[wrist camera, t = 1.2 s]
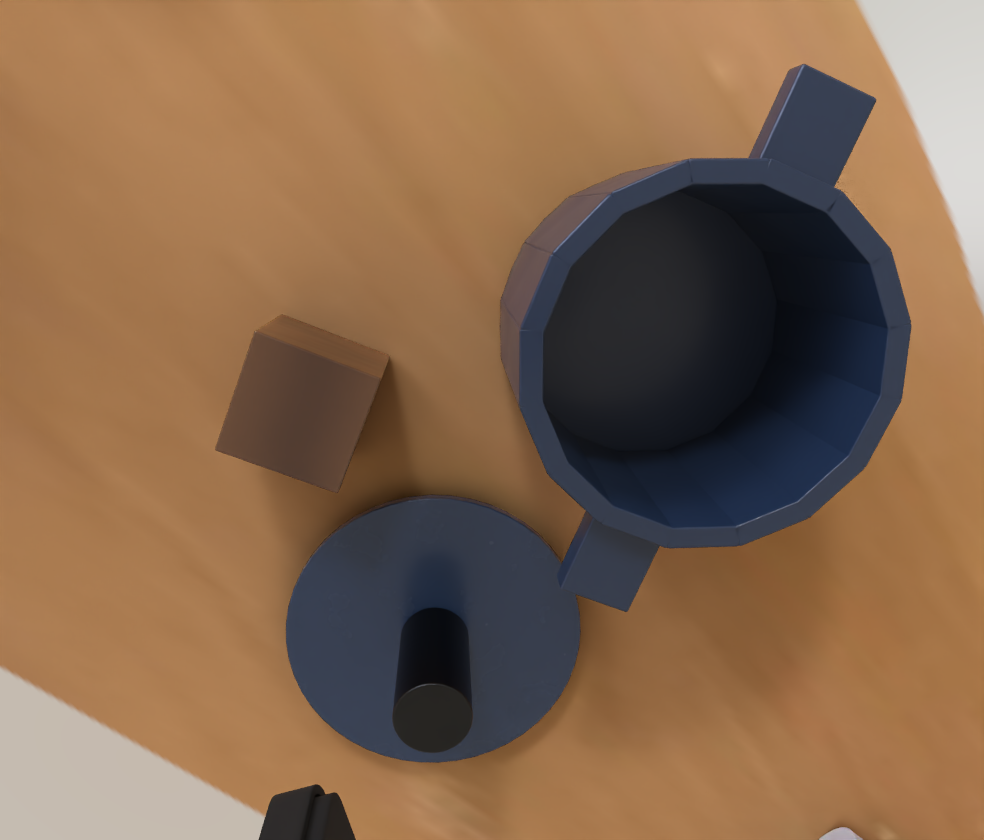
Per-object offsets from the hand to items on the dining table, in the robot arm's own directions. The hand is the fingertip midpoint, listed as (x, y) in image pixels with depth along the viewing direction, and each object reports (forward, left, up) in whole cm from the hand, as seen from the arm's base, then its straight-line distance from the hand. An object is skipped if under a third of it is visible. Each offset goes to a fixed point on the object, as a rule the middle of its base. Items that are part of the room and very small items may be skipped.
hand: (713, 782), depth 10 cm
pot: (+3, +4, -22) cm, 23 cm away
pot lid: (0, -11, -22) cm, 24 cm away
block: (-8, -3, -22) cm, 24 cm away
